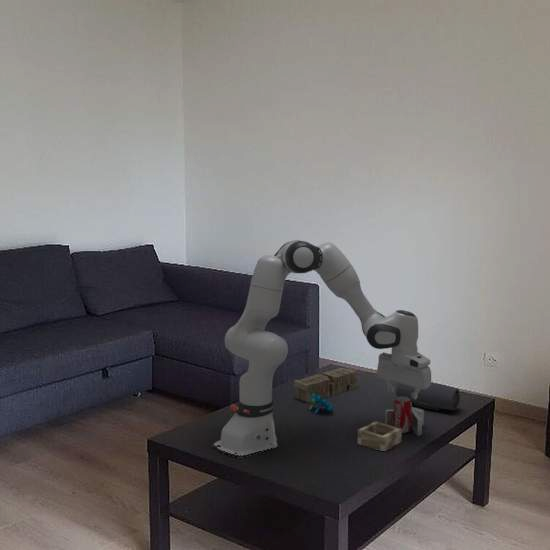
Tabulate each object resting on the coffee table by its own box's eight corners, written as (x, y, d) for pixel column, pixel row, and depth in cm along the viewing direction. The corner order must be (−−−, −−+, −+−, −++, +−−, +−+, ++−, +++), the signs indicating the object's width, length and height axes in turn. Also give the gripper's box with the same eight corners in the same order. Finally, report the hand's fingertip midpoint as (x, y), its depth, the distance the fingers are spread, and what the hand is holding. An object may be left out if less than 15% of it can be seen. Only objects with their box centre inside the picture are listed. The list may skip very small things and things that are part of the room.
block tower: (343, 386, 309) (292, 399, 290) (343, 366, 308) (293, 379, 289) (357, 390, 303) (306, 404, 284) (357, 371, 302) (307, 383, 283)
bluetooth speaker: (459, 409, 279) (461, 384, 277) (451, 416, 271) (452, 391, 269) (404, 398, 291) (405, 374, 289) (395, 404, 283) (395, 380, 282)
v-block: (419, 437, 251) (420, 420, 250) (383, 426, 261) (384, 410, 260) (434, 429, 259) (434, 413, 258) (398, 418, 268) (399, 403, 267)
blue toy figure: (339, 410, 273) (322, 394, 269) (331, 423, 271) (314, 407, 267) (323, 405, 282) (306, 390, 279) (315, 417, 281) (298, 402, 277)
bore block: (384, 452, 239) (384, 437, 238) (357, 443, 246) (357, 429, 245) (401, 442, 247) (401, 428, 246) (375, 434, 253) (375, 421, 253)
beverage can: (410, 435, 253) (412, 402, 251) (392, 433, 254) (393, 401, 252) (410, 428, 259) (412, 396, 257) (393, 427, 260) (394, 395, 258)
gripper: (374, 353, 256) (372, 390, 258) (425, 364, 243) (423, 404, 245) (384, 349, 261) (382, 386, 263) (434, 361, 247) (432, 400, 249)
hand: (402, 395), depth 254 cm, fingers open, 8 cm apart
